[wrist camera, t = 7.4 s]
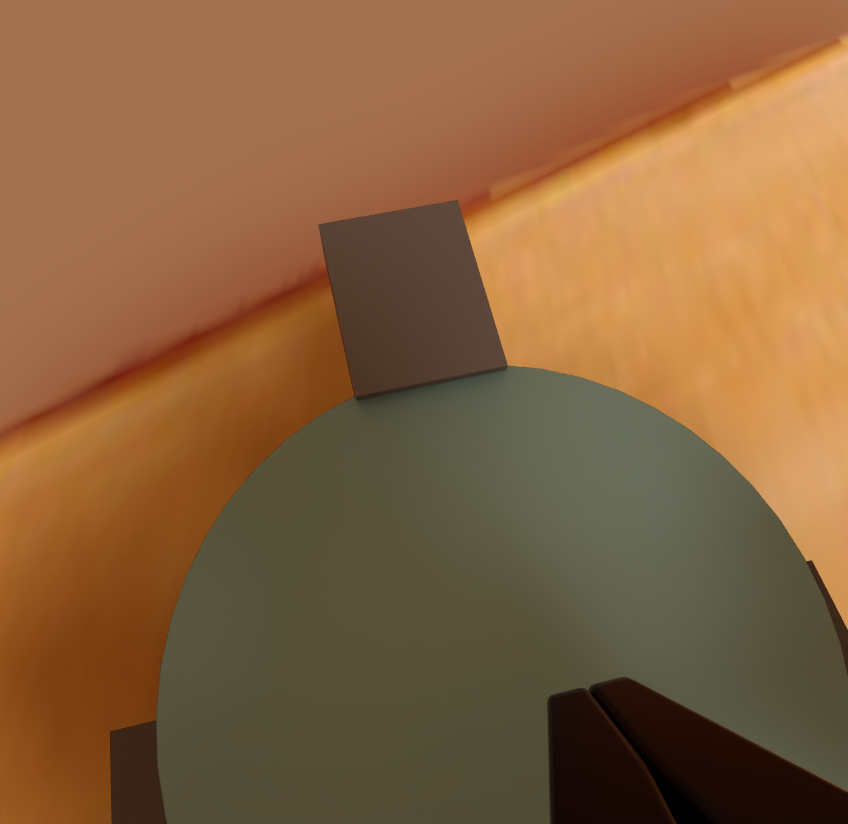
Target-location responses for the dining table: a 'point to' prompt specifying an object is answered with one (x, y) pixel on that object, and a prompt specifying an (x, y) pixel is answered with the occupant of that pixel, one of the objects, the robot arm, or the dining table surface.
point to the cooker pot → (138, 764)
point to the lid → (471, 576)
